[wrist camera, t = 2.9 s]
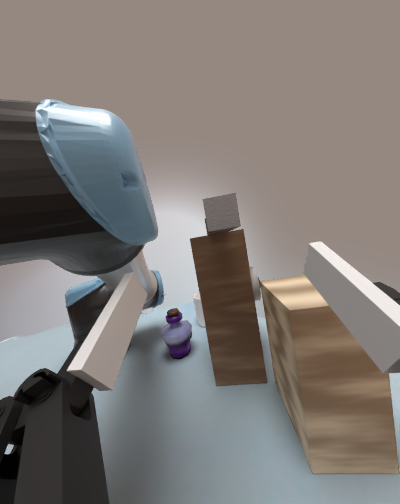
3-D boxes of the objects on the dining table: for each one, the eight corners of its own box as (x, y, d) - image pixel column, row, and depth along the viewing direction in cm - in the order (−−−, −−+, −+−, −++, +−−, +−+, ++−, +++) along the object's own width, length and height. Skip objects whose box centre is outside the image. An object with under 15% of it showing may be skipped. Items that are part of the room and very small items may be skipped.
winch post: (216, 341, 46) (198, 238, 44) (263, 336, 44) (246, 230, 42) (216, 385, 32) (189, 238, 30) (284, 381, 30) (261, 225, 28)
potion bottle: (202, 346, 44) (194, 305, 44) (179, 369, 38) (170, 321, 37) (181, 338, 50) (174, 302, 49) (158, 356, 43) (150, 315, 43)
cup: (204, 314, 63) (200, 290, 63) (233, 318, 57) (228, 290, 56) (193, 326, 56) (188, 298, 56) (224, 331, 50) (219, 300, 49)
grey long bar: (244, 225, 17) (238, 183, 17) (204, 232, 17) (197, 191, 17) (224, 234, 43) (221, 217, 42) (208, 237, 43) (205, 220, 43)
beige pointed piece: (143, 285, 81) (151, 285, 78) (147, 308, 81) (156, 308, 79) (133, 289, 75) (142, 289, 73) (138, 314, 76) (147, 314, 73)
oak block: (275, 382, 30) (259, 281, 29) (325, 378, 29) (311, 274, 28) (312, 473, 19) (289, 310, 17) (399, 473, 18) (381, 299, 16)
